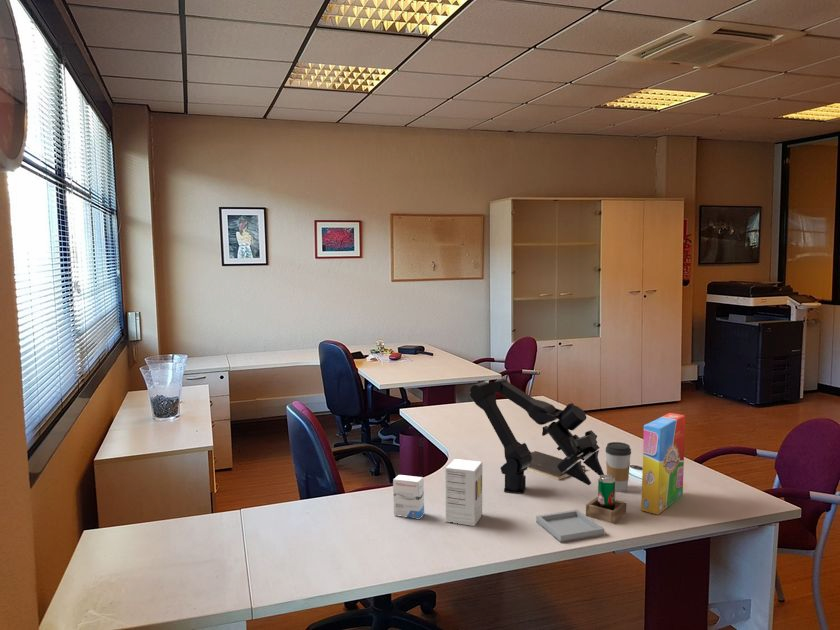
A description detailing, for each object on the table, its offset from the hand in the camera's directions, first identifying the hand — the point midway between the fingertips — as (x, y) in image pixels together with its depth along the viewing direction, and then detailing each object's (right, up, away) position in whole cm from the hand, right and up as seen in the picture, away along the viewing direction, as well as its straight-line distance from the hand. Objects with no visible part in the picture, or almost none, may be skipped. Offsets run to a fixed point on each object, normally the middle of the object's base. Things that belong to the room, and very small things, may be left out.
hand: (596, 480), depth 194 cm
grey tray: (-11, -12, -10) cm, 19 cm away
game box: (+23, -10, +8) cm, 26 cm away
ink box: (-58, -11, +1) cm, 59 cm away
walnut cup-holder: (+3, -10, -1) cm, 11 cm away
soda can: (+3, -11, -1) cm, 11 cm away
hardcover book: (-7, -7, +42) cm, 43 cm away
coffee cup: (+13, -8, +20) cm, 25 cm away
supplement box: (-41, -11, -2) cm, 42 cm away
